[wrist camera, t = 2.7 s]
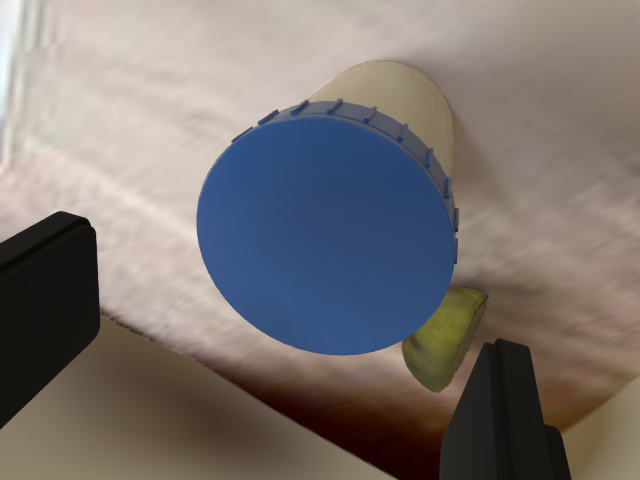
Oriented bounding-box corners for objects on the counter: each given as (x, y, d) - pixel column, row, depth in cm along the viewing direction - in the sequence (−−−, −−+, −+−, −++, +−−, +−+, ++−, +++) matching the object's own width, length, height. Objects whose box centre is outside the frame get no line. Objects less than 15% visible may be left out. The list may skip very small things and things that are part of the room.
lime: (480, 259, 24) (482, 320, 20) (507, 339, 26) (516, 412, 21) (392, 280, 26) (377, 341, 22) (423, 354, 27) (415, 424, 23)
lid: (320, 38, 13) (298, 47, 11) (515, 224, 13) (521, 259, 12) (182, 215, 16) (150, 242, 14) (344, 354, 17) (331, 395, 15)
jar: (376, 26, 21) (305, 64, 12) (486, 133, 21) (500, 248, 12) (285, 137, 24) (172, 235, 15) (383, 226, 25) (334, 373, 15)
